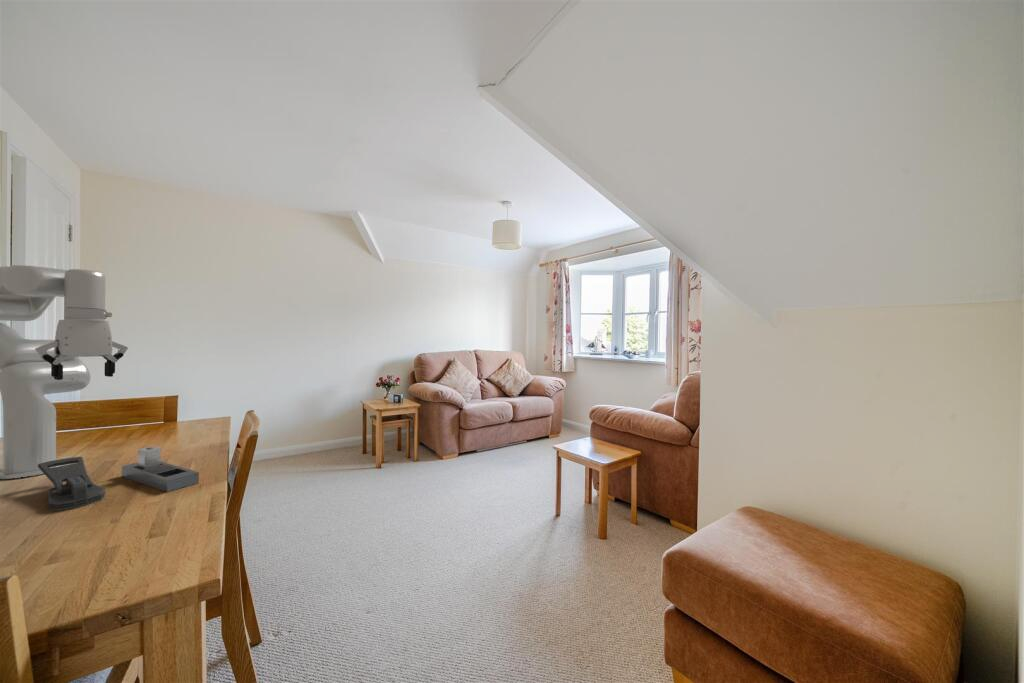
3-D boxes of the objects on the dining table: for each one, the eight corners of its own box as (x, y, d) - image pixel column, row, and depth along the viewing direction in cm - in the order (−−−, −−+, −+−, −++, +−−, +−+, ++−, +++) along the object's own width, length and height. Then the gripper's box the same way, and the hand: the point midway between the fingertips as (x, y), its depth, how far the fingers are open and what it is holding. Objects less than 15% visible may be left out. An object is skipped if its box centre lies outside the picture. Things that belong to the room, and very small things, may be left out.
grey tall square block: (137, 477, 108) (137, 449, 108) (153, 473, 112) (153, 445, 112) (144, 479, 107) (144, 450, 107) (160, 475, 110) (160, 447, 110)
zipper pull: (84, 454, 107) (108, 473, 93) (84, 478, 107) (108, 500, 94) (33, 463, 99) (51, 485, 86) (33, 488, 100) (51, 514, 86)
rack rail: (121, 476, 109) (122, 465, 109) (153, 469, 115) (153, 458, 115) (167, 492, 99) (167, 480, 99) (198, 483, 105) (198, 472, 105)
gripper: (120, 317, 114) (120, 374, 114) (30, 313, 98) (30, 379, 99) (133, 317, 111) (132, 376, 111) (42, 313, 95) (41, 381, 96)
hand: (84, 377), depth 105 cm, fingers open, 9 cm apart
